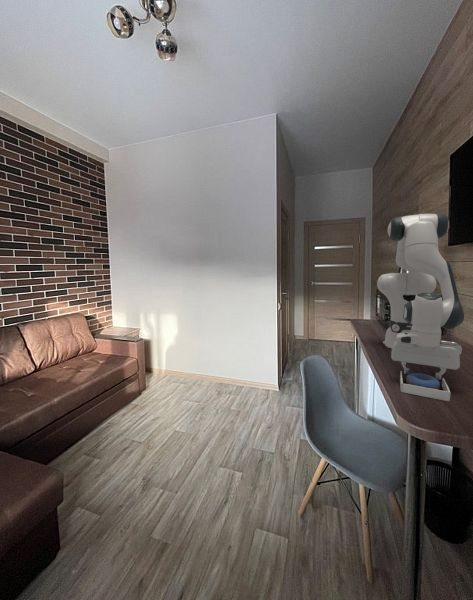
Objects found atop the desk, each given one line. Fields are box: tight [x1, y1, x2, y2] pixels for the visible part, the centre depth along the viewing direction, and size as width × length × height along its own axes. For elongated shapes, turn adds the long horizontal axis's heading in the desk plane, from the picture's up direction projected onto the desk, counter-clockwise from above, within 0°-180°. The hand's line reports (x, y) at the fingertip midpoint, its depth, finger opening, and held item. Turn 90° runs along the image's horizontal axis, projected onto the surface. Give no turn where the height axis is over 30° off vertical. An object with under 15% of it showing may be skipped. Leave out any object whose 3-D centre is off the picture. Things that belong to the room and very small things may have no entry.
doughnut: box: [405, 372, 441, 390], centre depth 95 cm, size 10×10×5 cm
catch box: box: [399, 370, 451, 403], centre depth 93 cm, size 13×13×3 cm
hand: (421, 376), depth 97 cm, fingers open, 8 cm apart
